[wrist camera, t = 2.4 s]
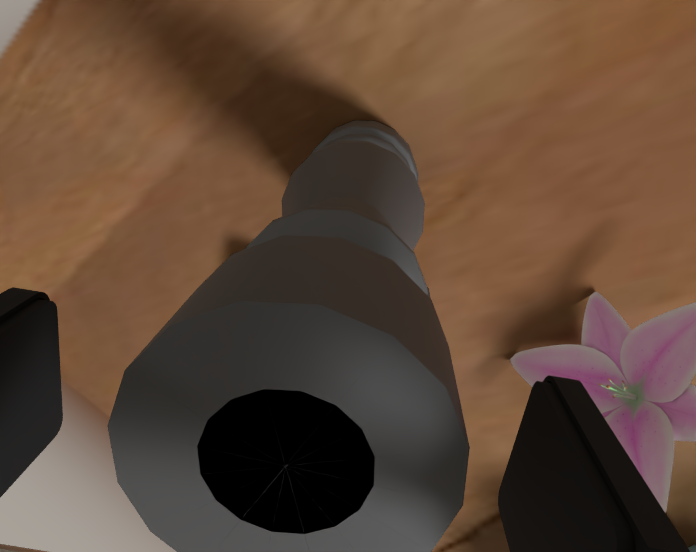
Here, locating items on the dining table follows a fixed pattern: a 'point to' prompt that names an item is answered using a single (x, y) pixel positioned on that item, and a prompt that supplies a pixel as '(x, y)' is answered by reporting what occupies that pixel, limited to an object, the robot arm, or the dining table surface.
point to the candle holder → (304, 378)
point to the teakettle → (692, 548)
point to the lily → (631, 381)
